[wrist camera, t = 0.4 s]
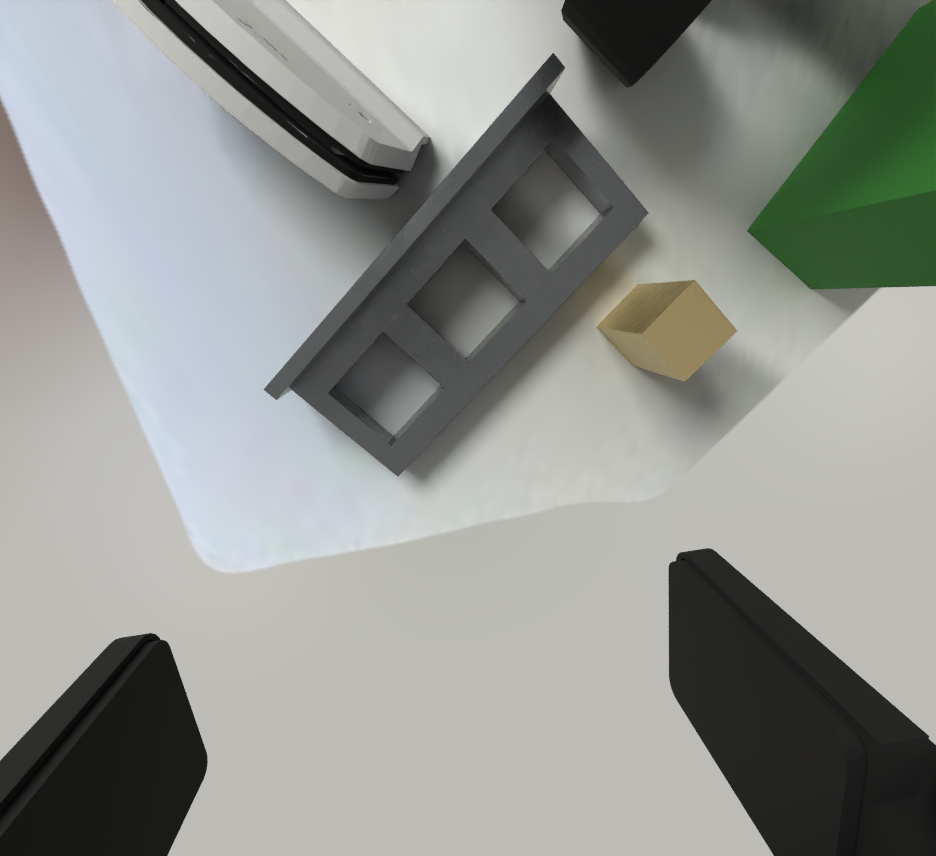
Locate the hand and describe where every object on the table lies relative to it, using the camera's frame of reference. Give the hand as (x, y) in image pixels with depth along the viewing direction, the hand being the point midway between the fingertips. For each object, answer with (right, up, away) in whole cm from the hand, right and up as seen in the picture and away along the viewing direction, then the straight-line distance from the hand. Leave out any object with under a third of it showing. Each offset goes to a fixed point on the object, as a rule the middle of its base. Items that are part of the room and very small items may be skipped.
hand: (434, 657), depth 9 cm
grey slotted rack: (0, +14, +26) cm, 30 cm away
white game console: (-11, +26, +22) cm, 36 cm away
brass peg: (+14, +12, +28) cm, 34 cm away
